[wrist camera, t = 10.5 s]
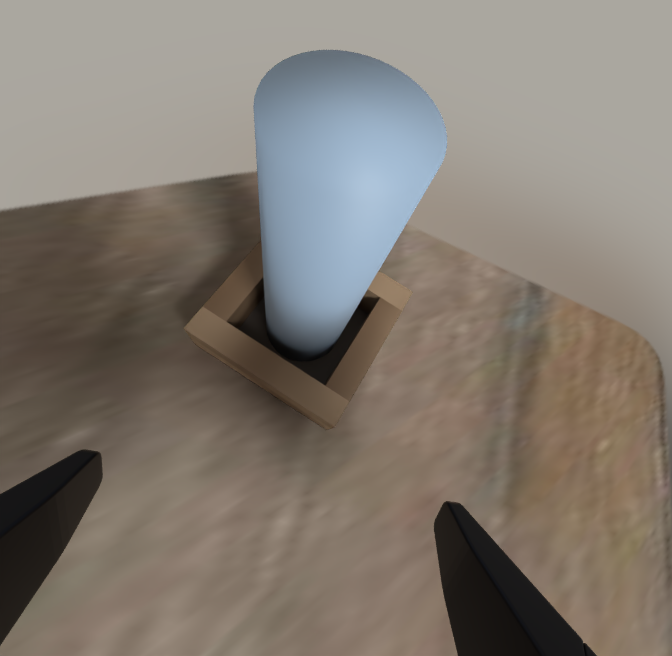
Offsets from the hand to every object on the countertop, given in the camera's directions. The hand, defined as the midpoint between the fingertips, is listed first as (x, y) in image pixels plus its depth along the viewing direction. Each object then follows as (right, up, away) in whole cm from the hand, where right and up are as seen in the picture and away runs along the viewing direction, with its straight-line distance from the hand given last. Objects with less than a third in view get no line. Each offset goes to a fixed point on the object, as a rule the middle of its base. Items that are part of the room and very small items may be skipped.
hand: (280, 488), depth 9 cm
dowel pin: (0, +4, +10) cm, 11 cm away
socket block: (0, +4, +10) cm, 11 cm away
